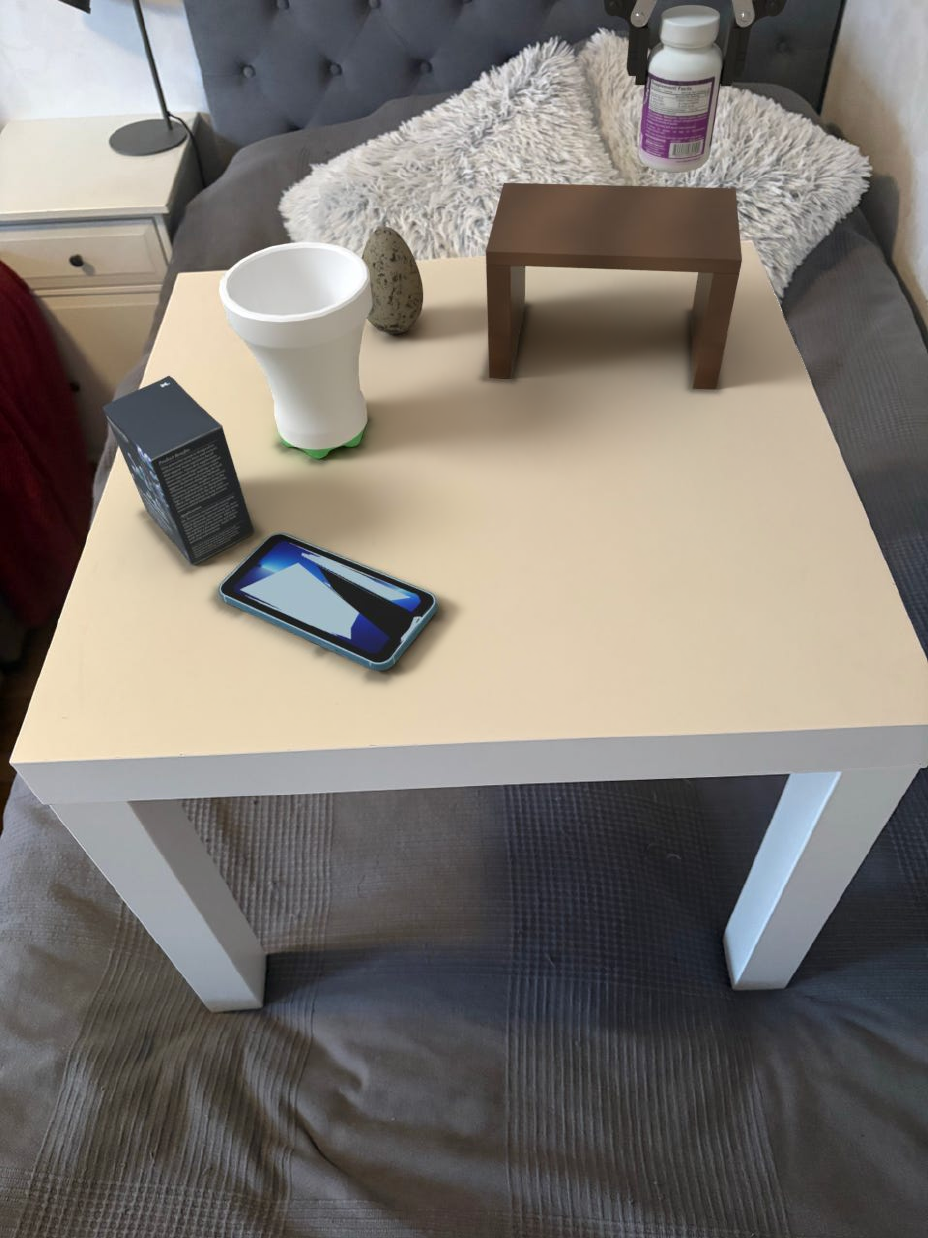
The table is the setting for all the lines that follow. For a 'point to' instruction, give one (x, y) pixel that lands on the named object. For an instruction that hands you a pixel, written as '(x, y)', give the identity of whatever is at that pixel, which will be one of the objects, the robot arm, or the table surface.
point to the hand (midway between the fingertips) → (683, 80)
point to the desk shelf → (615, 253)
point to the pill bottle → (681, 91)
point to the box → (181, 468)
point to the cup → (305, 337)
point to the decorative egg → (392, 282)
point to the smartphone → (330, 600)
